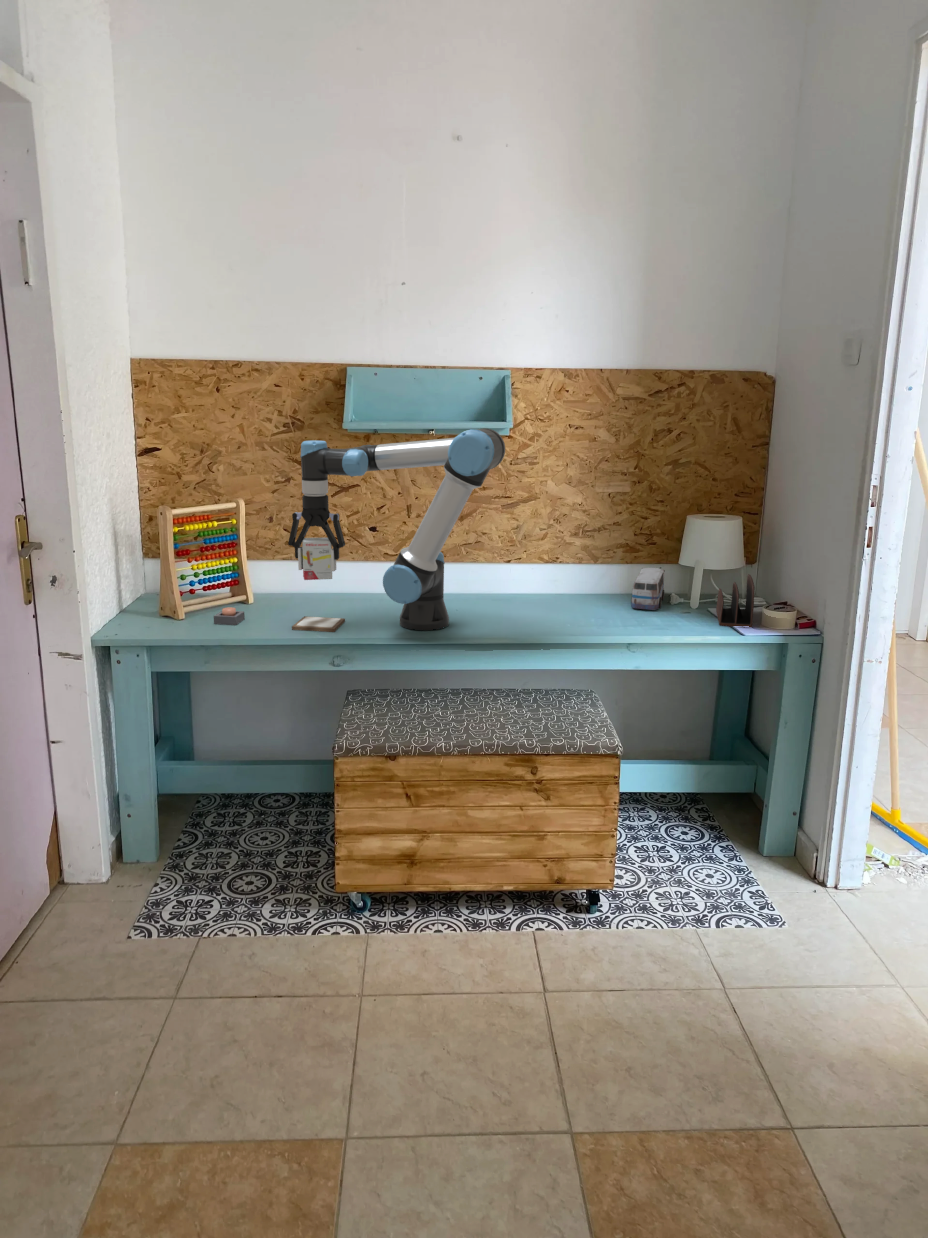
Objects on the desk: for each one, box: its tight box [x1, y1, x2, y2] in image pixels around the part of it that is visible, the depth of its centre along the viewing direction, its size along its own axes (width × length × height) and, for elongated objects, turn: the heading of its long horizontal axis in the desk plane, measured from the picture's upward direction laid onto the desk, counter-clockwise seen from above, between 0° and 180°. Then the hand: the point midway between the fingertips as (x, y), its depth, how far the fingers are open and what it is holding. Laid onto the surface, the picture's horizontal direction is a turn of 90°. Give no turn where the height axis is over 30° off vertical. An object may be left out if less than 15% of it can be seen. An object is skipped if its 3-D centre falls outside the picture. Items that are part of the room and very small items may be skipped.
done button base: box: [213, 610, 246, 626], centre depth 279 cm, size 7×7×2 cm
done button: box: [221, 606, 237, 616], centre depth 278 cm, size 4×4×2 cm
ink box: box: [302, 537, 333, 581], centre depth 271 cm, size 9×5×12 cm, turn 101°
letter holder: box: [715, 574, 756, 628], centre depth 291 cm, size 10×20×14 cm, turn 168°
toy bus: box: [630, 567, 665, 611], centre depth 311 cm, size 10×27×10 cm, turn 163°
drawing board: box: [291, 615, 346, 633], centre depth 276 cm, size 13×12×1 cm
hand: (317, 569), depth 272 cm, fingers closed on ink box, 9 cm apart
